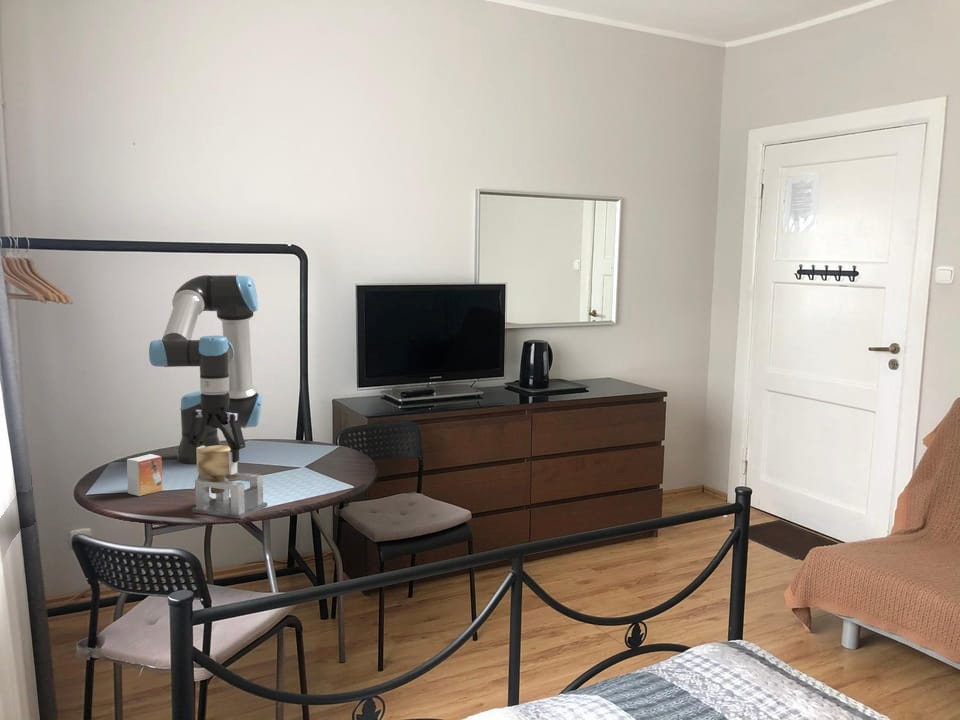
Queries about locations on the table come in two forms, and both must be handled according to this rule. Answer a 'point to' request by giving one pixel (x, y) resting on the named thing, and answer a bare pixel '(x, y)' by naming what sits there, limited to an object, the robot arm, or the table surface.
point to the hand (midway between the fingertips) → (217, 471)
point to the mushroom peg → (214, 463)
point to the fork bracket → (240, 499)
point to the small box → (144, 474)
